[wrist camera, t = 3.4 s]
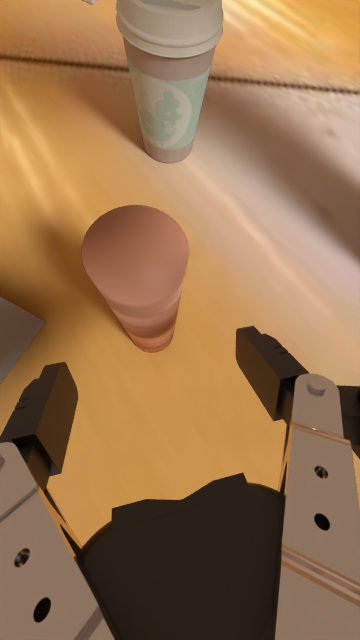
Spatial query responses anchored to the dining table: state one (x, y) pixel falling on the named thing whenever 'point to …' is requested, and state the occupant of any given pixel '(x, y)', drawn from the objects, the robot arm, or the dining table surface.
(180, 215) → the dining table surface
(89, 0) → the tray
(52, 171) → the dining table surface
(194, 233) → the dining table surface
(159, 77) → the coffee cup
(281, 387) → the robot arm
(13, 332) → the hole block
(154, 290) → the pin
